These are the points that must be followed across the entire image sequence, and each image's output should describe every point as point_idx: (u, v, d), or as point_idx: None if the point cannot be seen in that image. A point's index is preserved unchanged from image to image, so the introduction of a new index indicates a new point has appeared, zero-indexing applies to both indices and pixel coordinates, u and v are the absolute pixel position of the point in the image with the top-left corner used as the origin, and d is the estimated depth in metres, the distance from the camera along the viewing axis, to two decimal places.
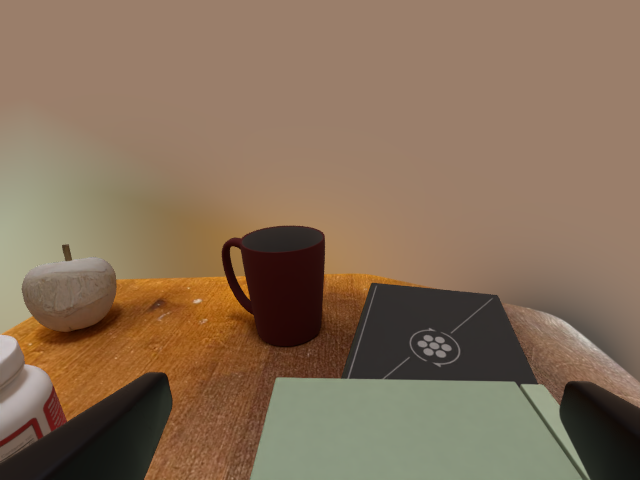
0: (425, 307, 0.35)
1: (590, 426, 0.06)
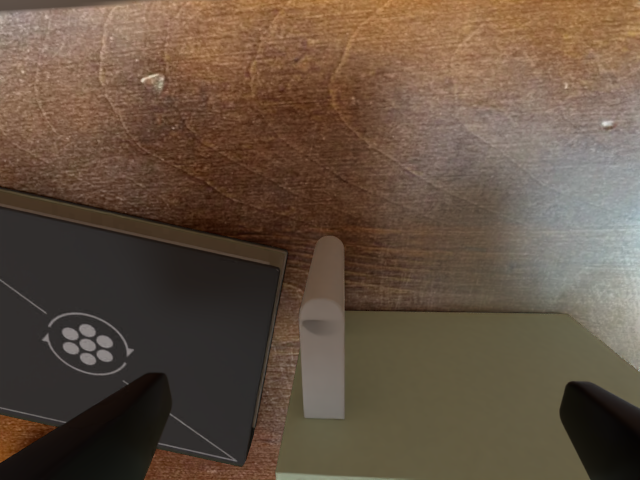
0: None
1: (590, 426, 0.06)
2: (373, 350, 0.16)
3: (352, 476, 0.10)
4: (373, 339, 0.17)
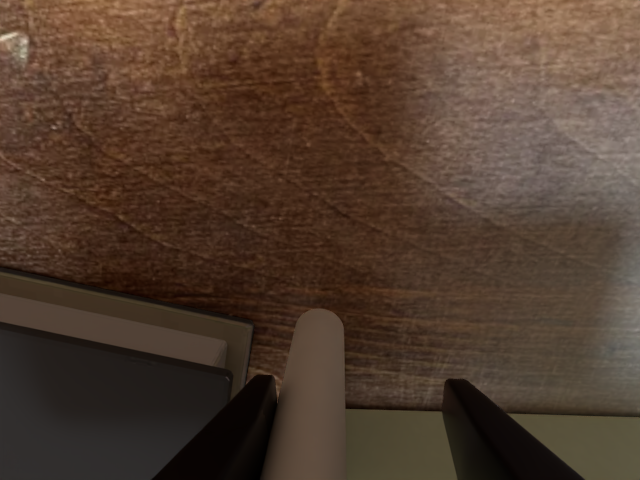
0: None
1: (455, 422, 0.06)
2: None
3: None
4: None
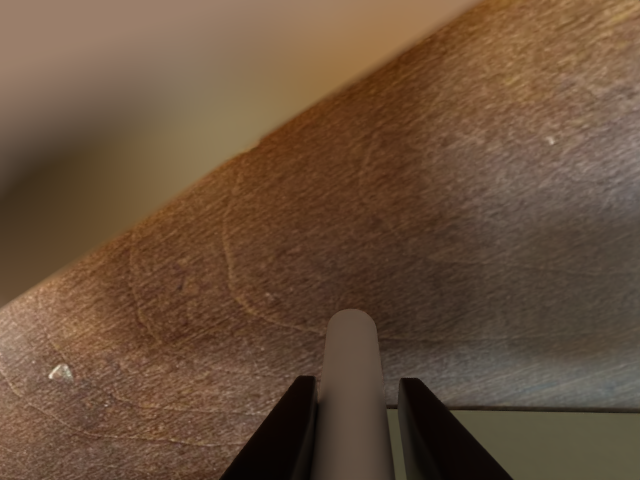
0: None
1: (404, 420, 0.06)
2: None
3: None
4: None
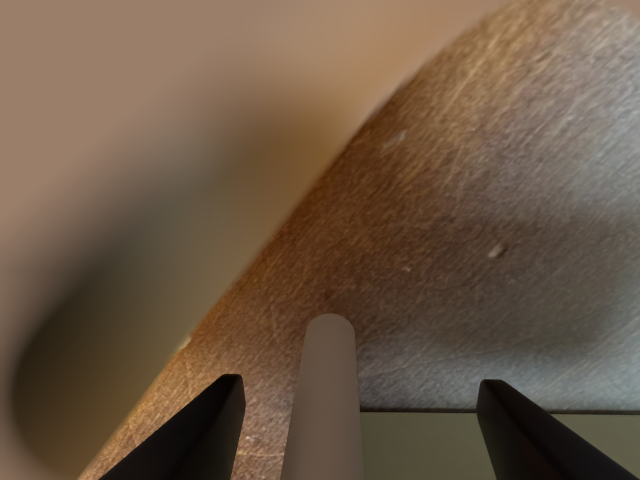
0: None
1: (494, 423, 0.06)
2: None
3: None
4: None
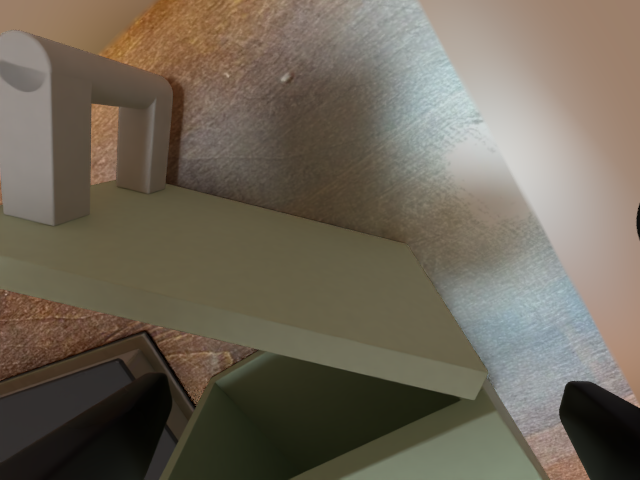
0: None
1: (590, 426, 0.06)
2: (167, 208, 0.14)
3: None
4: (179, 204, 0.15)
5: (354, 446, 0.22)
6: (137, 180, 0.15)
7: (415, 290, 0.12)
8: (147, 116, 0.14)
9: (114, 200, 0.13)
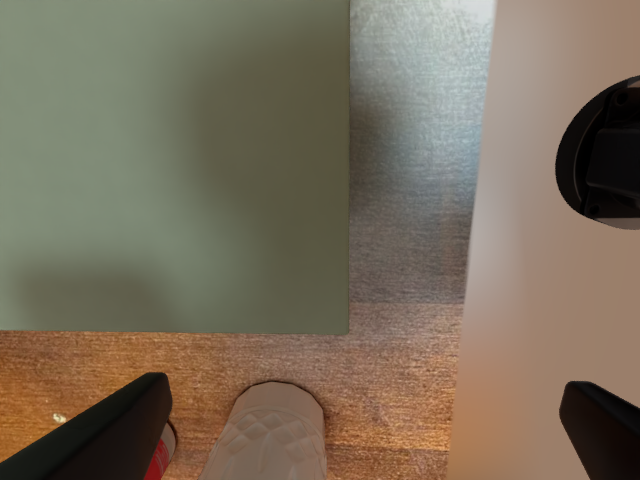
0: None
1: (590, 426, 0.06)
2: None
3: None
4: None
5: None
6: None
7: None
8: None
9: None
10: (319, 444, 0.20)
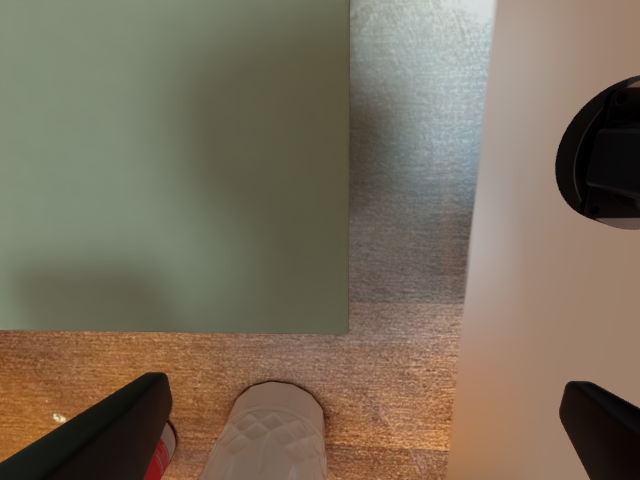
0: None
1: (590, 426, 0.06)
2: None
3: None
4: None
5: None
6: None
7: None
8: None
9: None
10: (319, 444, 0.20)
